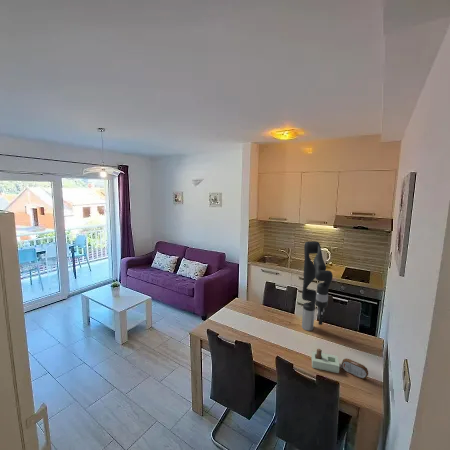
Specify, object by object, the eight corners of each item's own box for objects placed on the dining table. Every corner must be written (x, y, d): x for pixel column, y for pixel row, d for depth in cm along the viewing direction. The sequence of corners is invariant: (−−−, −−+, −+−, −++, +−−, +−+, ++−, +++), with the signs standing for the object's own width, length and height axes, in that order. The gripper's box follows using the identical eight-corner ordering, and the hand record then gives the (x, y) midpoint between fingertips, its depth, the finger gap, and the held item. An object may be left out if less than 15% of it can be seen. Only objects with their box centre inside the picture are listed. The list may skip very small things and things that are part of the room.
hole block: (311, 357, 172) (312, 350, 171) (336, 362, 168) (337, 355, 167) (312, 367, 163) (312, 360, 162) (338, 373, 158) (339, 366, 157)
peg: (315, 361, 168) (316, 348, 166) (320, 362, 167) (321, 349, 166) (315, 364, 165) (316, 351, 164) (320, 365, 164) (321, 352, 163)
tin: (367, 378, 154) (369, 366, 152) (366, 382, 152) (368, 369, 150) (341, 367, 163) (343, 355, 162) (340, 369, 161) (341, 358, 160)
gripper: (315, 293, 174) (313, 314, 177) (316, 303, 161) (314, 325, 164) (326, 294, 172) (324, 316, 175) (329, 305, 159) (326, 327, 162)
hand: (320, 320), depth 170 cm, fingers open, 8 cm apart
